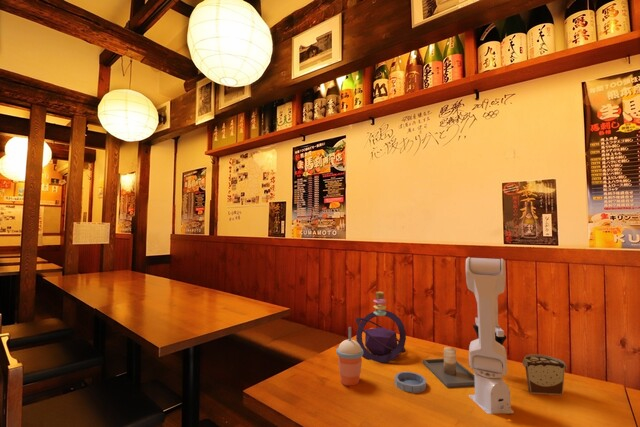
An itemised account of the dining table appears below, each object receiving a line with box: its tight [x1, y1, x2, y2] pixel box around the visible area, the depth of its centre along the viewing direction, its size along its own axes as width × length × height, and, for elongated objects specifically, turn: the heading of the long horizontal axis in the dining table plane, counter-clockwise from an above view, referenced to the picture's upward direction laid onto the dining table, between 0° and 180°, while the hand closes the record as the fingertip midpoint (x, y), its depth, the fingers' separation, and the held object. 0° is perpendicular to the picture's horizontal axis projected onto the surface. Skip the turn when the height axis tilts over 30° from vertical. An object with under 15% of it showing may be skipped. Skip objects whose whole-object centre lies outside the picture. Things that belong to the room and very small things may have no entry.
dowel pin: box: [443, 346, 457, 375], centre depth 110 cm, size 4×4×8 cm
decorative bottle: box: [355, 291, 407, 364], centre depth 129 cm, size 22×21×25 cm
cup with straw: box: [335, 326, 364, 387], centre depth 106 cm, size 9×9×18 cm
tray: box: [422, 358, 475, 389], centre depth 110 cm, size 18×12×2 cm, turn 6°
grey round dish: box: [394, 371, 427, 394], centre depth 102 cm, size 10×10×2 cm
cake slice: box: [522, 353, 568, 396], centre depth 101 cm, size 12×6×10 cm, turn 84°
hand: (489, 350), depth 108 cm, fingers open, 7 cm apart
